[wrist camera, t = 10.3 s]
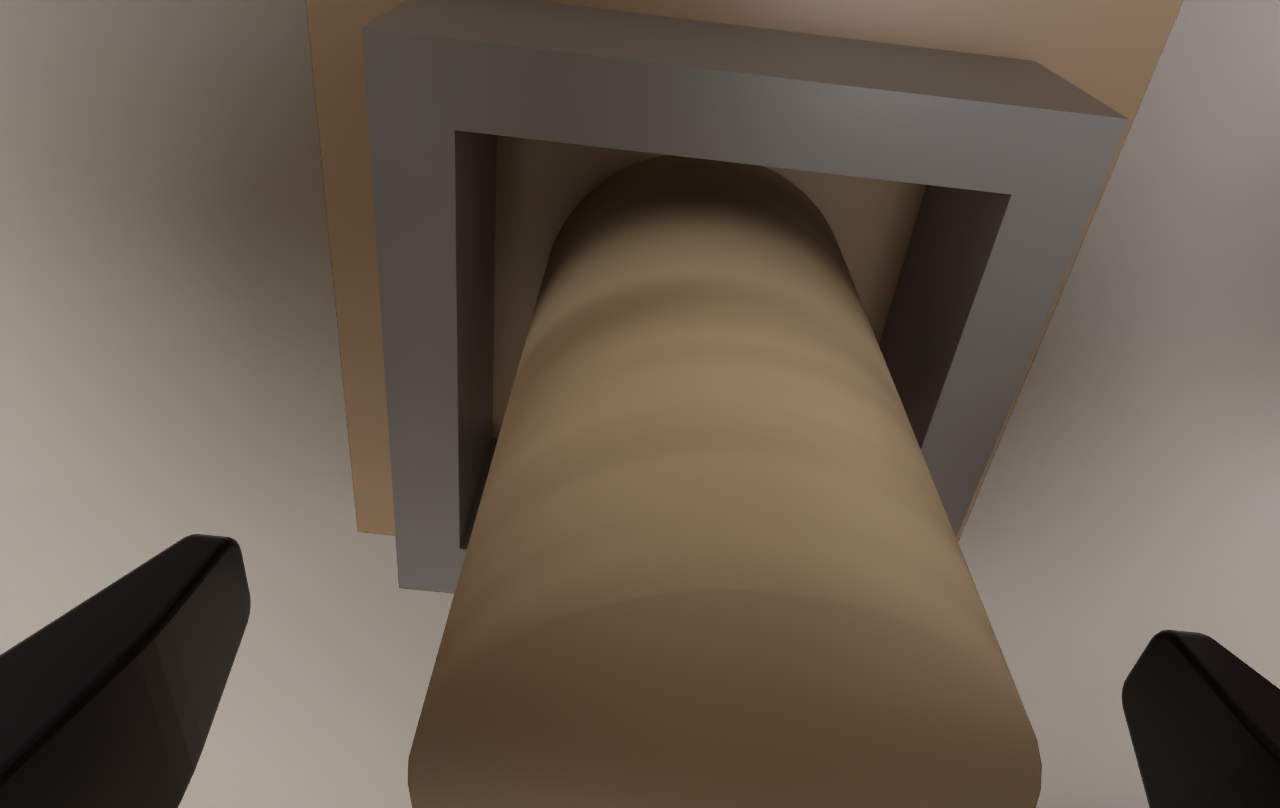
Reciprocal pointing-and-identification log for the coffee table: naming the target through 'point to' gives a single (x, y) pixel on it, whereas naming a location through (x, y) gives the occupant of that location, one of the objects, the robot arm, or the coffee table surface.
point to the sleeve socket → (715, 130)
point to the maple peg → (713, 539)
